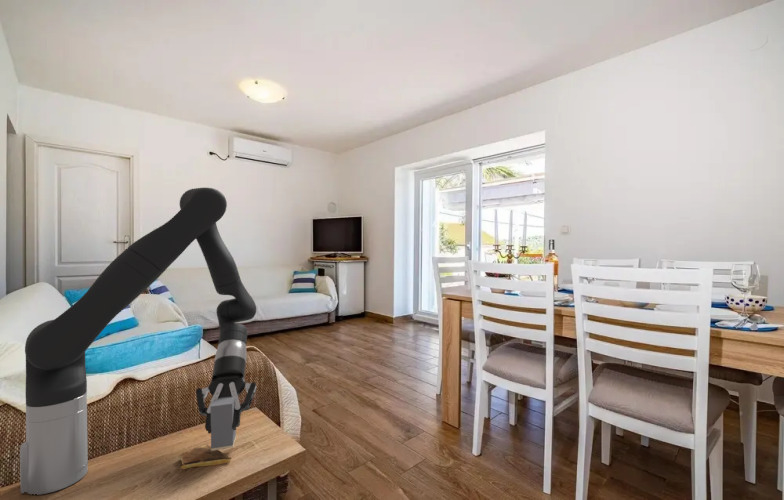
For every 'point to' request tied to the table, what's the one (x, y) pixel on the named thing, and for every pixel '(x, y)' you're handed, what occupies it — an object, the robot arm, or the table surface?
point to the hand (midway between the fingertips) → (222, 430)
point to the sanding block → (222, 423)
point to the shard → (202, 457)
